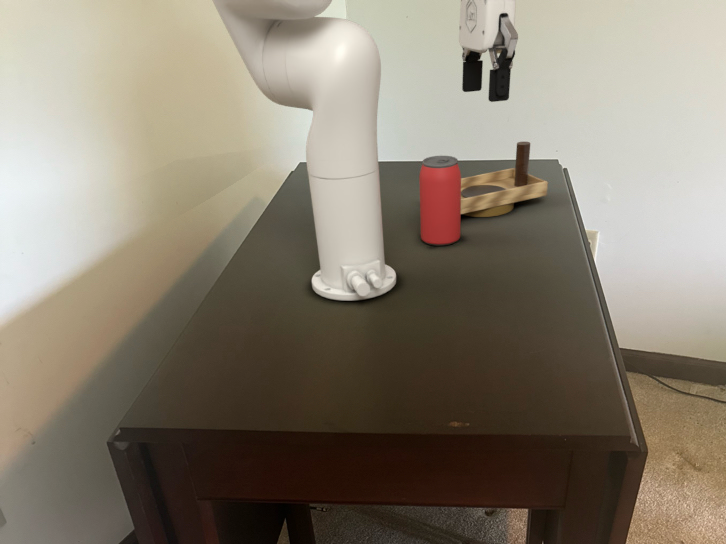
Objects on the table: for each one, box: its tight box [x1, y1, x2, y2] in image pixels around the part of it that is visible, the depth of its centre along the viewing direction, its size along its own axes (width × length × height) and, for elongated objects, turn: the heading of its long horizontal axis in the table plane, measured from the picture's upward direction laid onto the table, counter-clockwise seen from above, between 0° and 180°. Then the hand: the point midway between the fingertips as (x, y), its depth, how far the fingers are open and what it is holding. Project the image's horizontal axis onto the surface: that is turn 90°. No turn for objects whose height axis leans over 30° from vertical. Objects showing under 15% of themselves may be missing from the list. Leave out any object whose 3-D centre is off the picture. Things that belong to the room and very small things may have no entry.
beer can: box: [418, 155, 462, 247], centre depth 108 cm, size 7×7×12 cm
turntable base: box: [461, 202, 515, 218], centre depth 123 cm, size 11×11×2 cm
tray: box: [461, 141, 549, 215], centre depth 120 cm, size 20×11×8 cm, turn 117°
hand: (484, 95), depth 106 cm, fingers open, 9 cm apart
